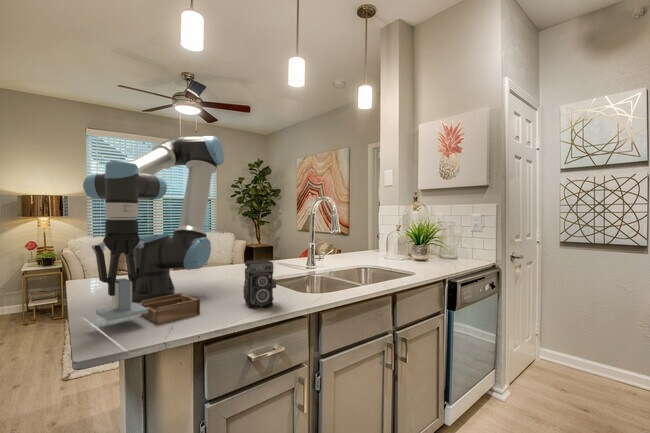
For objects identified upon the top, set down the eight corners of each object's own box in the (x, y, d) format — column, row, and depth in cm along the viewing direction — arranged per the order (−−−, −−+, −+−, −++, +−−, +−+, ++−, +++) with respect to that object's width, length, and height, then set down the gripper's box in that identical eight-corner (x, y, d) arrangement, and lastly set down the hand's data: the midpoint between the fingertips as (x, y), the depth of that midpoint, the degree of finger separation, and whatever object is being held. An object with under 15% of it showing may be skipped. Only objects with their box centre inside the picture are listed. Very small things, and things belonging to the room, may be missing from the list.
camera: (246, 312, 99) (246, 265, 99) (241, 304, 109) (241, 260, 109) (279, 309, 104) (279, 263, 104) (271, 300, 113) (271, 258, 113)
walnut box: (141, 317, 95) (141, 300, 95) (181, 308, 104) (181, 292, 104) (158, 326, 87) (158, 308, 87) (199, 315, 97) (199, 299, 97)
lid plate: (96, 313, 85) (96, 280, 85) (134, 306, 93) (134, 275, 93) (107, 321, 79) (107, 285, 79) (148, 312, 86) (148, 279, 86)
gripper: (91, 219, 77) (91, 315, 78) (158, 218, 89) (158, 302, 89) (83, 219, 82) (83, 309, 82) (147, 218, 94) (147, 298, 94)
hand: (122, 305), depth 86 cm, fingers closed on lid plate, 2 cm apart
